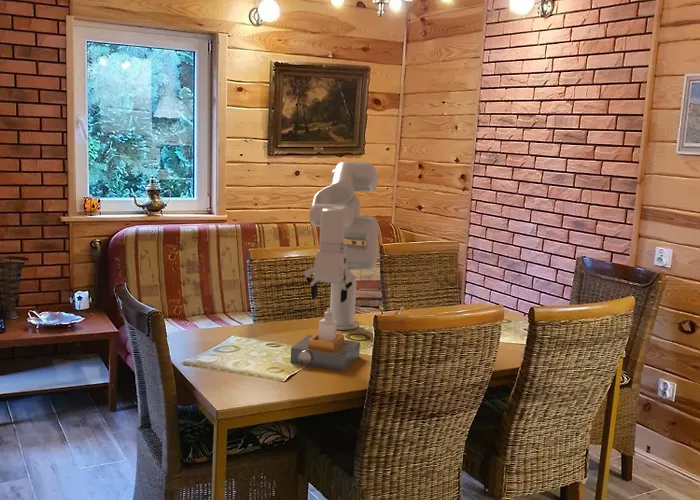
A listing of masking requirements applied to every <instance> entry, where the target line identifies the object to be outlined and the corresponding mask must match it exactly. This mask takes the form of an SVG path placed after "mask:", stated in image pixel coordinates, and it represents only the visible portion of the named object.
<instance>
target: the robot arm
mask: <svg viewBox="0 0 700 500" xmlns="http://www.w3.org/2000/svg"><path fill="white" fill-rule="evenodd" d="M330 180H331V183H330V185H328V186H326V187H324V188H322V189H321V190H320V191H318V192H317V193H316V194H315V195H314V196H313V199H312V200H311V205H310V208H309V214H308V218H309V222H310V224H311V225H312V226H314V227H319V244H318V245H319V249H317V251H316V254H315V259H314V264H313V265H314V266H313V267H311V268H308V269H307V270H304V271H303V275H304V277H305V278H306V281H307V282H308V283H309V286H310V288H311V289H310V295H311V299H316V298H317V297H318V291H319V290H318V288H319V285H318V282H321V283H328V284H330V299H329V301H330V302H329V303H330V304H329V308H330V312H332V320H334V321H335V322H336V323H337V327H336V331H337V330H339V331H348V330H350V331H351V330H354V329H355V330H356V329H357V328H358V327H359V323H358V321H356V320H355V314H356V298H357V297H356V296H357V295H356V294H357V280H356V279H357V277H356V276H355V274H353V273H352V271H365V272H366V271H368V272H371V271H373V270H374V269H376V266H377V261H378V260H377V259H378V247H379V246H378V245H379V222H378V219H377V218H375V217H374V216H369V215H368V216H367V215H361V214H360V212H361V211H360V210H361V201H360V199H359V197H358V196H357V194H356V193H355V192H363V193H364V192H365V193H373V192H375V191H376V189H378V185H379V175H378V171H377V169H376V167H375V165H373V164H372V163H370V162H365V161H363V162H362V161H348V160H347V161H341V162H339V163H337V164H336V166H335V168H334V169H332V171H331V173H330ZM344 240H345V241H353V242H354V241H355V242H364V243H365V244H355V243H344V242H345V241H344ZM312 273H313V277H312V276H311V274H312Z"/></svg>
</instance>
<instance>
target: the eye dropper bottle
mask: <svg viewBox="0 0 700 500" xmlns="http://www.w3.org/2000/svg"><path fill="white" fill-rule="evenodd" d="M326 309H327V310H326V311H324V314H323V315H324V316H323V317H324V318H322V319H320V320H319V321H318V332H319V333H318V332H317V333H318V340H319V341H326V342H334V341H335V340H336V334H337V329H336V327H337V323H336V322H335V321H334V320H332V312H330V307H327V308H326Z"/></svg>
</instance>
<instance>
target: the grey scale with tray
mask: <svg viewBox="0 0 700 500" xmlns="http://www.w3.org/2000/svg"><path fill="white" fill-rule="evenodd" d="M318 333H319V331H318V332H317V333H315V334H308V335H307V336H305V337H304V338H303V339H301V340H299V341H298V342H297V343H295V344H294V345H292V346H291V347H290V364H295V363H296V365H302V366H310V367H315V368H322V369H326V370H327V369H329V370H335V371H340V372H341V371H342V372H345V371H346V370H347V369H348V368H349V367H350V366H352V364H353V363H354V362H355V361H357V360H358V359H359V358H360V351H361V349H360V348H361V342H360V341H354V340H348V339H345V334H339V333H336V340H335V341H334V342H326V341H319V340H318Z"/></svg>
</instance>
